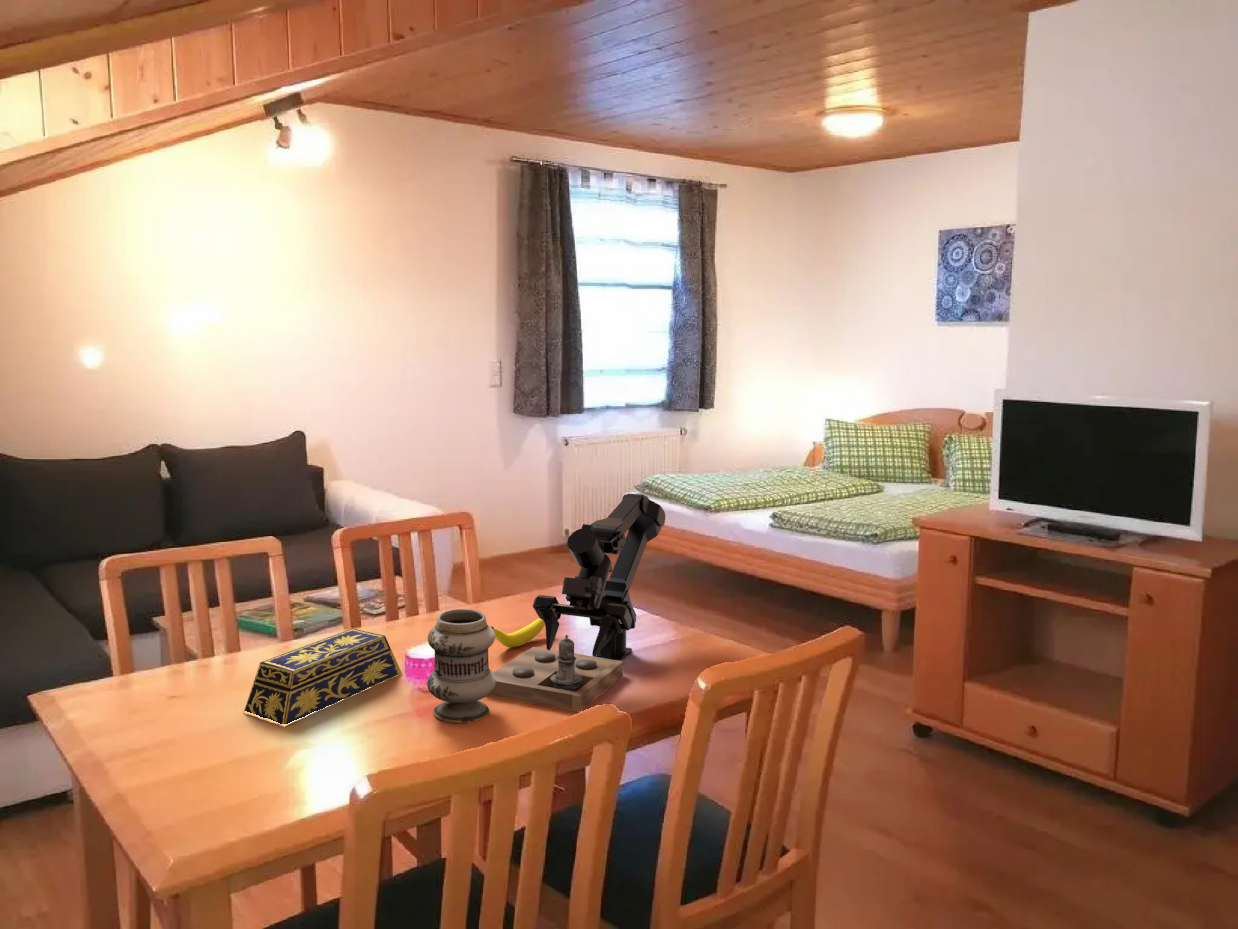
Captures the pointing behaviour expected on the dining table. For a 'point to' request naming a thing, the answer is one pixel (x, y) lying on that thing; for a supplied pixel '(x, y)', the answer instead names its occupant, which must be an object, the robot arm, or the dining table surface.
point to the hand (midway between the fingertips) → (570, 652)
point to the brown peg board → (533, 683)
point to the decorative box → (320, 675)
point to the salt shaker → (566, 667)
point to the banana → (519, 634)
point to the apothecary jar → (461, 665)
